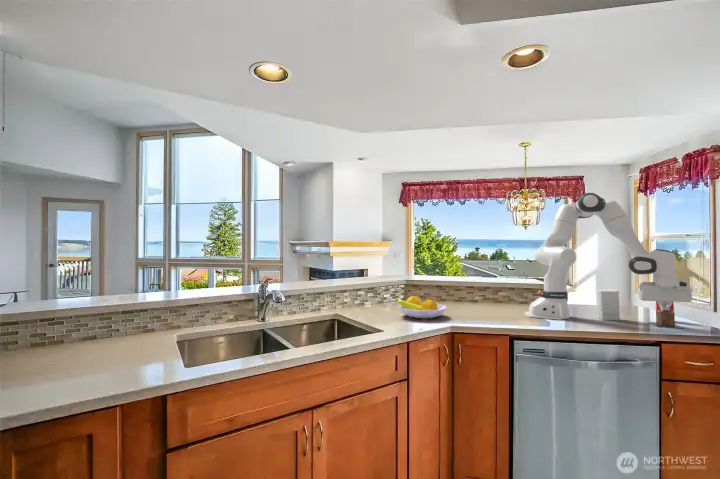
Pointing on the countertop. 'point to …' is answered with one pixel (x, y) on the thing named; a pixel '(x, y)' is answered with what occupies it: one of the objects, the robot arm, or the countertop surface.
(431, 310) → the fruit bowl
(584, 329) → the countertop surface
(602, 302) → the skincare box
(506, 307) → the countertop surface
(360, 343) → the countertop surface
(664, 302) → the soda can
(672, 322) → the shipping carton
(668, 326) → the square metal plate
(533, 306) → the robot arm
